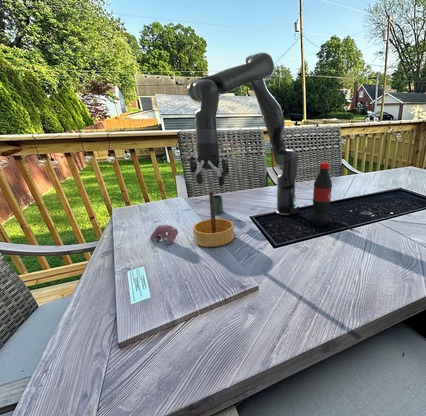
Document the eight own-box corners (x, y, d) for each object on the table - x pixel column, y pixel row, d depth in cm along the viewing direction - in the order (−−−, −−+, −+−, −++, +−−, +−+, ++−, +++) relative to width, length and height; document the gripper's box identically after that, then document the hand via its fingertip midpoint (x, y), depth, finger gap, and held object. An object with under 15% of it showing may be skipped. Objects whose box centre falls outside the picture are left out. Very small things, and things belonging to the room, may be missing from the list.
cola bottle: (330, 223, 129) (336, 162, 119) (324, 229, 122) (330, 165, 112) (315, 220, 132) (319, 160, 122) (308, 225, 125) (312, 163, 115)
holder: (225, 212, 136) (224, 195, 133) (219, 216, 131) (218, 198, 128) (215, 211, 137) (214, 194, 134) (209, 214, 132) (208, 197, 129)
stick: (217, 237, 107) (214, 190, 101) (215, 238, 106) (212, 191, 99) (213, 236, 108) (210, 190, 101) (211, 238, 106) (208, 191, 100)
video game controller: (177, 244, 104) (181, 227, 105) (168, 244, 100) (172, 226, 100) (157, 240, 107) (162, 223, 108) (148, 239, 103) (152, 222, 103)
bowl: (240, 233, 113) (239, 220, 111) (223, 250, 99) (222, 236, 97) (207, 229, 115) (206, 216, 113) (186, 245, 101) (184, 231, 99)
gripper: (230, 141, 96) (232, 184, 102) (195, 139, 98) (199, 180, 104) (220, 143, 89) (223, 189, 95) (183, 140, 92) (187, 185, 97)
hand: (210, 184), depth 99 cm, fingers open, 8 cm apart
